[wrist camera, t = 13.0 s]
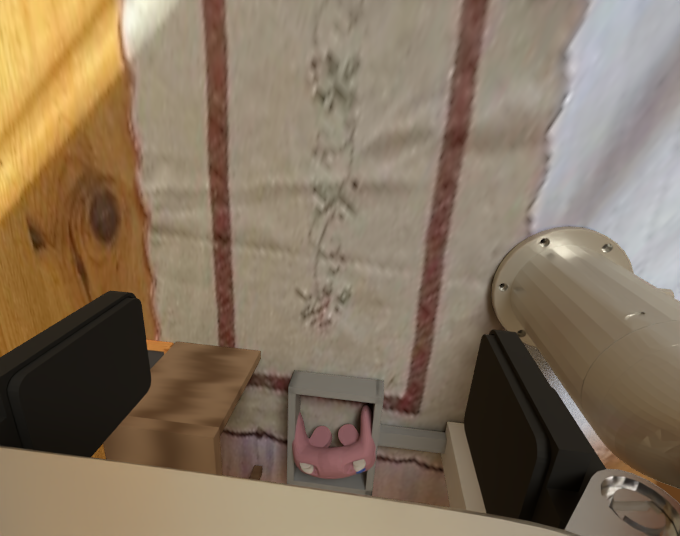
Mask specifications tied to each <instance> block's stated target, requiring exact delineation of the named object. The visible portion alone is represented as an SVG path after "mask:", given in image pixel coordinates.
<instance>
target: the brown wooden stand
mask: <svg viewBox="0 0 680 536" xmlns="http://www.w3.org/2000/svg"><path fill="white" fill-rule="evenodd" d="M260 359H261V351H256V350H247V349H238V348H229V347H220V346H211V345H202V344H193V343H184V342H176V343H175V344H174V345H173V346H172V347H171V348H170V349H169V350H168V351H167V352H166V353H165V354H164V355H163V356H162V357H161V358H160V360H159V361H158V362H157V363H156V364H155V365H154V366H153V367H152V368H151V369H150V372H151V386H150V389H149V391H148V392H147V394H146V395H145V396H144V397H143V398H142V399H141V400H140V402H139V403H138V404H137V405H136V406H135V407H134V408H133V410H132V411H131V412H130V413H129V414H128V415H127V416H126V418H125V419H124V420H123V421H122V422H121V423H120V424H119V426H118V427H117V428H116V429H115V430H114V431H113V432H112V434H111V435H110V436H109V437H108V438H107V439H106V440H105V442H104V443H103V445H104V450H105V455H106V460H114V461H122V462H129V463H137V464H144V465H152V466H159V467H167V468H174V469H181V470H189V471H196V472H203V473H211V474H218V475H222V463H221V447H220V435H221V433H222V432H223V430H224V428H225V426H226V424H227V422H228V420H229V418H230V416H231V414H232V412H233V410H234V409H235V407H236V405H237V403H238V401H239V399H240V397H241V395H242V393H243V391H244V389H245V387H246V386H247V384H248V382H249V380H250V378H251V376H252V374H253V372H254V370H255V368H256V366H257V364H258V363H259V361H260ZM261 475H262V466H256V465H255V466H254V469H253V471H252V474H251V477H250V479H254V480H260V477H261Z"/></svg>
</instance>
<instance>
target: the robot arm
mask: <svg viewBox="0 0 680 536" xmlns="http://www.w3.org/2000/svg"><path fill="white" fill-rule="evenodd" d="M543 238H544V240H543V242H540V241H541V240H542V239H543ZM604 245H605V246H604ZM603 246H604V247H603ZM502 283H503V285H502V286H499V285H500V284H502ZM491 298H492V304H493V309H494V311H495V313H496V316H497V318H498V320H499V321H500V323H501V325H502V326H503V327H504V328H505V329H506V331H501V330H491V332H490V333H489V335H486V334H484V335H483V336H482V339H481V343H480V347H479V352H478V357H477V361H476V366H475V371H474V375H473V380H472V384H471V389H470V394H469V398H468V403H467V408H466V412H465V417H464V430H465V434H466V438H467V442H468V445H469V449H470V453H471V457H472V460H473V464H474V468H475V472H476V476H477V479H478V483H479V487H480V491H481V494H482V498H483V502H484V506H485V509H486V513H487V514H486V513H481V512H475V511H470V510H464V509H458V508H451V507H444V506H437V505H430V504H423V503H416V502H409V501H402V500H395V499H388V498H381V497H374V496H367V495H360V494H353V493H346V492H339V491H332V490H325V489H318V488H311V487H304V486H297V485H290V484H283V483H276V482H269V481H262V480H254V479H247V478H240V477H233V476H225V475H218V474H211V473H203V472H196V471H189V470H181V469H174V468H167V467H159V466H152V465H144V464H137V463H129V462H122V461H114V460H106V459H99V458H91V456H92V455H93V454H94V453H95V452H96V451H97V449H98V448H99V447H100V446H101V445H102V444H103V443H104V442H105V440H106V439H107V438H108V437H109V436H110V435H111V434H112V432H113V431H114V430H115V429H116V428H117V427H118V426H119V424H120V423H121V422H122V421H123V420H124V419H125V418H126V416H127V415H128V414H129V413H130V412H131V411H132V410H133V408H134V407H135V406H136V405H137V404H138V403H139V402H140V400H141V399H142V398H143V397H144V396H145V395H146V394H147V392H148V391H149V389H150V386H151V372H150V364H149V357H148V350H147V342H146V335H145V327H144V320H143V312H142V305H141V302H140V300H139V299H137V298H136V297H135V295H134V294H133V293H128V292H118V291H109V292H107V293H105V294H103V295H102V296H100V297H99V298H97V299H95V300H94V301H92V302H90V303H89V304H87V305H85V306H84V307H82V308H80V309H79V310H77V311H76V312H74V313H72V314H71V315H69V316H67V317H66V318H64V319H62V320H61V321H59V322H58V323H56V324H54V325H53V326H51V327H49V328H48V329H46V330H44V331H43V332H41V333H40V334H38V335H36V336H35V337H33V338H31V339H30V340H28V341H26V342H25V343H23V344H22V345H20V346H18V347H17V348H15V349H13V350H12V351H10V352H8V353H7V354H5V355H3V356H2V357H0V536H680V504H679V503H678V502H677V501H676V500H675V499H673V498H672V497H671V496H670V495H669V494H667V493H666V492H665V491H664V490H663V489H661V488H659V487H658V486H656V485H655V484H653V483H651V482H650V481H648V480H646V479H644V478H641V477H639V476H637V475H635V474H632V473H629V472H625V471H621V470H614V469H606V468H605V466H604V465H603V463H602V462H601V460H600V459H599V457H598V456H597V454H596V452H595V451H594V449H593V448H592V446H591V445H590V443H589V442H588V440H587V438H586V437H585V435H584V434H583V432H582V431H581V429H580V428H579V426H578V425H577V423H576V421H575V420H574V418H573V417H572V415H571V414H570V412H569V411H568V409H567V408H566V406H565V404H564V403H563V401H562V400H561V398H560V397H559V395H558V394H557V392H556V391H555V390H554V389H553V388H552V387H551V386H550V385H549V383H548V382H547V380H546V378H545V377H544V375H543V374H542V372H541V371H540V369H539V367H538V366H537V364H536V363H535V361H534V360H533V358H532V356H531V355H530V353H529V352H528V350H527V349H526V347H525V345H524V344H523V343H525V344H527V345H530V346H533V347H537V349H538V350H539V351H540V353H541V354H542V356H543V357H544V359H545V360H546V362H547V363H548V365H549V366H550V368H551V369H552V370H553V372H554V373H555V375H556V376H557V378H558V379H559V381H560V382H561V384H562V385H563V386H564V388H565V389H566V391H567V392H568V394H569V395H570V397H571V398H572V400H573V401H574V402H575V404H576V405H577V407H578V408H579V410H580V411H581V413H582V414H583V416H584V417H585V418H586V420H587V421H588V423H589V424H590V425H591V427H592V428H593V430H594V431H595V433H596V434H597V435H598V437H599V438H600V439H601V441H602V442H603V443H604V444H605V446H606V447H607V448H608V449H609V450H610V451H611V452H612V453H613V454H614V455H615V456H617V457H618V458H619V459H620V460H622V461H623V462H624V463H626V464H627V465H629V466H630V467H631V468H633V469H635V470H636V471H638V472H640V473H642V474H644V475H646V476H648V477H651V478H653V479H655V480H657V481H660V482H662V483H665V484H668V485H671V486H674V487H676V488H679V489H680V301H678V300H676V299H675V298H674V293H673V291H672V290H670V289H661V288H656V287H655V286H653V285H651V284H650V283H648V282H646V281H645V280H643V279H641V278H640V277H638V276H636V275H635V274H634V272H633V269H632V265H631V262H630V260H629V258H628V257H627V255H626V253H625V251H624V250H623V249H622V248H621V247H620V246H619V245H618V244H617V243H616V242H614V241H613V240H611V239H610V238H608V237H607V236H605V235H603V234H601V233H599V232H596V231H594V230H590V229H586V228H583V227H571V226H568V227H557V228H552V229H549V230H545V231H541V232H539V233H537V234H535V235H533V236H530V237H528V238H527V239H525V240H524V241H522V242H521V243H519V244H518V245H517V246H516V247H515V248H514V249H512V250H511V251H510V252H509V253H508V254H507V256H506V257H505V258H504V260H503V261H502V262H501V264H500V265H499V267H498V269H497V272H496V274H495V276H494V280H493V284H492V293H491ZM519 330H520V331H519Z"/></svg>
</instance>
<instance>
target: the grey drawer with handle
mask: <svg viewBox="0 0 680 536" xmlns="http://www.w3.org/2000/svg"><path fill="white" fill-rule="evenodd" d="M301 395H308V396H317V397H325V398H334V399H342V400H351V401H359V402H367V403H374V406H373V422H372V439H373V441H374V443H375V446H376V450H375V454H376V456H377V448H378V445H379V446H387V447H395V448H403V449H411V450H419V451H427V452H434V453H441V458H442V464H443V470H444V476H445V481H446V487H447V493H448V499H449V504H450V507H451V508H458V509H464V510H470V511H475V512H481V513H486V509H485V506H484V502H483V498H482V494H481V491H480V487H479V483H478V479H477V476H476V472H475V468H474V464H473V460H472V457H471V453H470V449H469V445H468V442H467V438H466V434H465V430H464V424H463V423H455V422H447V426H446V431H445V432H438V431H430V430H422V429H413V428H405V427H397V426H389V425H381V424H380V423H381V415H382V407H383V399H384V381H382V380H374V379H365V378H356V377H347V376H339V375H330V374H321V373H312V372H304V371H295V370H294V373H293V376H292V378H291V381H290V384H289V387H288V444H287V484H290V485H297V486H304V487H311V488H318V489H325V490H332V491H339V492H346V493H353V494H360V495H367V496H372V489H373V481H374V473H375V465H376V459H375V463H374V465H373V466H372V467H371V468H370V469H369V470H367V471H365V472H362V473H358V474H355V475H352V476H349V477H345V478H338V479H324V478H318V477H314V476H311V475H309V474H305V473H303V472H302V471H301V470H300V469H299V468H298V467H297V466H296V464H295V462H294V456H293V450H292V443H293V440H295V432H296V425H297V420H298V415H299V412H300V396H301ZM486 514H487V513H486Z"/></svg>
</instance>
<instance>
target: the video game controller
mask: <svg viewBox="0 0 680 536" xmlns="http://www.w3.org/2000/svg"><path fill="white" fill-rule="evenodd" d="M372 422H373V415H372V411H371V409H370V407H369V406H368V405H364V406H363V408H362V411H361V417H360V434H359V433H358V432H357V430H356V428H355V427H354V426H353V425H351V424H346V425H343V426H342V427H341V428H340V429H339V432H338V437H339V440H340V442H341V443H342V445H343V446H342V447H332V448H328V447H329V446H330V444H331V442H332V434H331V432H330V430H329V429H328V428H327V427H325V426H319V427H317V428H316V429H315V430H314V432H313V434H312V436H311V437H310V439H309V438H308V437H307V434H306V432H305V426H304V421H303V418H302V415H301V413H300V412H299V415H298V420H297V425H296V432H295V440H293V443H292V450H293V456H294V462H295V464H296V466H297V467H298V468H299V469H300V470H301V471H302V472H303V473H305V474H309V475H311V476H314V477H318V478H324V479H338V478H345V477H349V476H352V475H355V474H358V473H362V472H365V471H367V470H369V469H370V468H371V467H372V466H373V465H374V463H375V459H376V454H375V450H376V446H375V443H374V441H373V439H372Z"/></svg>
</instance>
